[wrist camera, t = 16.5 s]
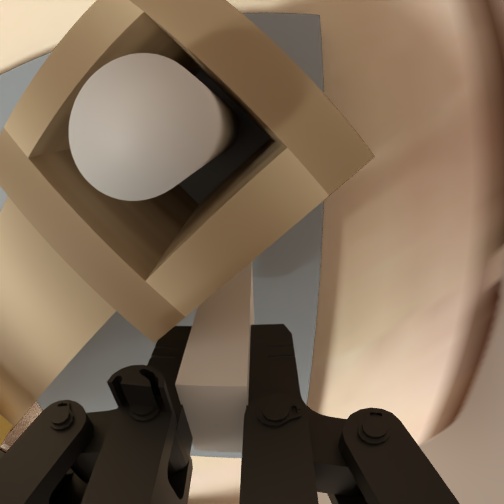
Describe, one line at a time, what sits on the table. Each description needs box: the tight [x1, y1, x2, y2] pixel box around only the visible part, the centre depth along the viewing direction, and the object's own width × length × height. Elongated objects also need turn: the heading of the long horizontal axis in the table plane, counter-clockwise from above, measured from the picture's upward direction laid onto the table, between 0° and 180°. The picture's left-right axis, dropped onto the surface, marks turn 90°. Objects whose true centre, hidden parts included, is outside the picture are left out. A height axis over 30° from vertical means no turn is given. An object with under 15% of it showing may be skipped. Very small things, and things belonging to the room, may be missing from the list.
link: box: [0, 0, 375, 431], centre depth 10 cm, size 18×6×7 cm, turn 133°
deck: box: [0, 13, 324, 458], centre depth 12 cm, size 21×27×11 cm
